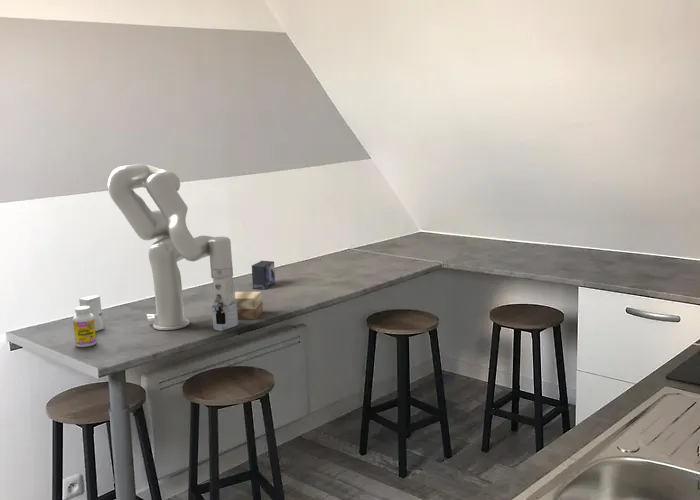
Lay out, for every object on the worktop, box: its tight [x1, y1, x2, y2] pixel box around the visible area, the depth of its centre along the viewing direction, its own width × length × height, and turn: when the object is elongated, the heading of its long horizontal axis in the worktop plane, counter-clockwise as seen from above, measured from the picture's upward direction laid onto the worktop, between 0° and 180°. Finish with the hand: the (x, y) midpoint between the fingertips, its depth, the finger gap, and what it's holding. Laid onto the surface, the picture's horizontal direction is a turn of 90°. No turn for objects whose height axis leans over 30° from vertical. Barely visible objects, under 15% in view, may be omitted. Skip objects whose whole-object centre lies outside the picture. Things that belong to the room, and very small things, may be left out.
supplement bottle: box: [72, 305, 97, 348], centre depth 237 cm, size 7×7×13 cm
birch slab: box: [233, 291, 263, 309], centre depth 265 cm, size 10×10×4 cm
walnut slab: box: [237, 301, 264, 320], centre depth 266 cm, size 10×10×4 cm
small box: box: [251, 260, 276, 290], centre depth 309 cm, size 11×6×10 cm, turn 161°
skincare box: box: [78, 295, 104, 332], centre depth 253 cm, size 6×4×12 cm
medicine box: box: [211, 302, 239, 332], centre depth 251 cm, size 8×4×9 cm, turn 141°
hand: (225, 319), depth 251 cm, fingers closed on medicine box, 9 cm apart
